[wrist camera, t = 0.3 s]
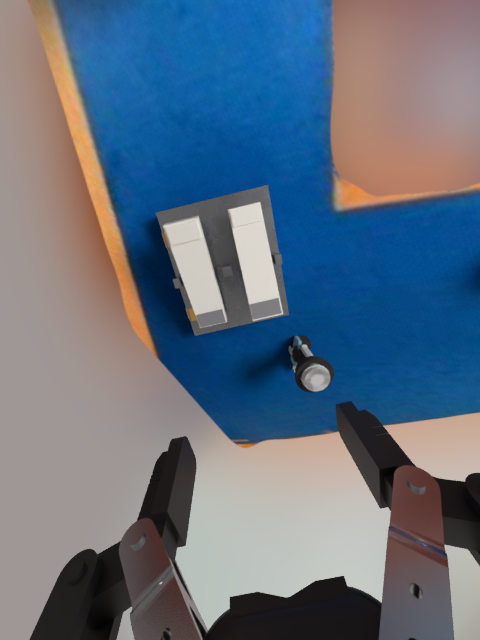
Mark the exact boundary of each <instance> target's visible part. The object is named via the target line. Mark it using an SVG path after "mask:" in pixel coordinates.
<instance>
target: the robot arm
mask: <svg viewBox="0 0 480 640" xmlns="http://www.w3.org/2000/svg"><path fill="white" fill-rule="evenodd" d="M336 415H337V424H338V430H339V433H340V436H341V438H342V440H343V441H344V443H345V445H346V447H347V449H348V451H349V453H350V454H351V456H352V458H353V460H354V461H355V463H356V465H357V467H358V469H359V470H360V472H361V474H362V476H363V478H364V479H365V481H366V483H367V485H368V487H369V489H370V491H371V492H372V494H373V496H374V498H375V500H376V502H377V503H378V505H379V507H380V508H385V507H389V509H390V511H391V517H390V526H389V530H388V541H387V551H386V562H385V574H384V586H383V596H382V603H381V602H379V601H378V600H377V599H375V598H373V597H372V596H371V595H369V594H367V593H365V592H363V591H361V590H358V589H356V588H353V587H348V586H347V585H346V581H345V578H344V576H341V577H335V578H330V579H324V580H319V581H315V582H313V583H312V584H310V585H308V586H307V587H305V588H304V589H302V590H300V591H299V592H297V593H296V594H294V595H292V596H291V597H288V598H285V597H280V596H275V595H270V594H265V593H260V592H255V593H249V594H244V595H239V596H233V597H230V609H229V610H227V611H226V612H225V613H223V614H222V615H221V616H220V617H219V618H218V619H217V620H216V621H215V622H214V624H213V625H212V626H211V628H210V629H209V630H207V628H206V626H205V623H204V621H203V619H202V617H201V615H200V613H199V612H198V609H197V607H196V605H195V603H194V601H193V599H192V596H191V594H190V592H189V590H188V587H187V585H186V583H185V580H184V578H183V576H182V574H181V571H180V569H179V567H178V565H177V562H176V560H175V556H176V550H177V547H182V546H185V545H186V539H187V531H188V524H189V517H190V510H191V503H192V496H193V488H194V481H195V474H196V458H195V455H194V453H193V450H192V448H191V445H190V443H189V440H188V438H187V437H186V436H185V437H180V438H175V439H172V440H171V442H170V445H169V448H168V451H166V452H163V453H162V454H161V456H160V457H159V459H158V460H157V461H156V464H155V467H154V470H153V475H152V476H151V479H150V484H149V485H148V488H147V492H146V495H145V498H144V501H143V504H142V507H141V511H140V513H139V517H138V519H137V521H136V522H135V523H134V524H132V526H130V527H129V529H128V530H127V531H126V533H125V534H124V536H123V538H122V540H121V541H120V542H118V543H117V544H115V545H113V546H111V547H110V548H108V549H106V550H105V551H103V552H101V553H99V554H98V555H97V553H96V552H95V551H94V550H92V549H86V550H84V551H81V552H80V553H78V554H77V555H75V556H74V557H73V558H72V559H71V560H70V561H69V562H68V563H67V564H66V566H65V567H64V568H63V570H62V572H61V573H60V575H59V577H58V579H57V581H56V583H55V586H54V588H53V590H52V592H51V594H50V596H49V599H48V601H47V603H46V605H45V607H44V610H43V612H42V614H41V616H40V618H39V620H38V623H37V625H36V627H35V629H34V631H33V633H32V636H31V638H30V640H116V639H117V635H118V631H119V627H120V622H121V618H122V614H123V612H124V611H125V610H127V609H128V608H130V607H132V612H131V613H130V620H131V625H132V630H133V634H134V639H135V640H454V631H453V618H452V606H451V593H450V580H449V568H448V559H447V554H446V553H445V548H444V544H446V545H451V546H455V547H460V548H465V549H468V550H469V551H470V553H471V554H472V555H473V557H474V558H475V560H476V561H477V563H478V564H479V565H480V473H473V474H470V475H468V477H467V478H466V481H465V482H461V481H453V480H445V479H439V478H435V477H433V476H431V475H430V474H429V473H427V472H426V471H424V470H422V469H420V468H418V467H416V466H415V465H414V464H413V463H412V462H411V461H410V459H409V458H408V457H407V455H406V454H405V453H404V452H403V450H402V449H401V448H400V447H399V445H398V444H397V443H396V442H395V440H394V439H393V438H392V437H391V435H390V434H388V432H387V430H386V429H385V428H384V427H383V426H382V424H381V423H380V422H379V420H378V419H377V418H376V417H375V416H374V415H372V414H371V413H369V412H368V411H366V410H361V411H358V410H357V408H356V407H355V406H354V404H353V403H352V402H351V401H350V402H345V403H340V404H336Z"/></svg>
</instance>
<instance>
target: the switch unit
mask: <svg viewBox="0 0 480 640" xmlns="http://www.w3.org/2000/svg"><path fill="white" fill-rule="evenodd" d="M258 202H260V204H261V209H262V214H263V218H264V223H265V228H266V233H267V238H268V243H269V247H270V252H271V257H272V262H273V267H274V272H275V276H276V281H277V286H278V291H279V296H280V301H281V305H282V310H283V314H282V315H278V316H274V317H269V318H265V319H260V320H256V321H253V320H252V316H251V311H250V307H249V303H248V298H247V294H246V289H245V285H244V280H243V276H242V271H241V267H240V263H239V258H238V254H237V249H236V245H235V240H234V236H233V231H232V227H231V223H230V218H229V214H228V210H229V209H233V208H237V207H241V206H245V205H249V204H254V203H258ZM156 215H157V218H158V221H159V225H160V228H161V231H162V236H163V239H164V243H165V246H166V248H167V250H168V253H169V256H170V259H171V262H172V265H173V269H174V272H175V275H176V278H174V279H173V282H174V285H175V289H177V288H180V291H181V294H182V297H183V300H184V303H185V306H186V312H187V315H188V318H189V321H190V322H191V325H192V329H193V332H194V335H195V336H196V335H201V334H205V333H210V332H214V331H218V330H223V329H227V328H232V327H236V326H240V325H245V324H249V323H254V322H258V321H263V320H267V319H271V318H276V317H280V316H285V315H289V312H288V305H287V299H286V293H285V287H284V281H283V275H282V269H281V264H282V257H281V254H279V250H278V244H277V238H276V232H275V226H274V220H273V214H272V208H271V202H270V195H269V189H268V185H266V186H262V187H258V188H254V189H250V190H246V191H242V192H238V193H234V194H230V195H226V196H222V197H218V198H213V199H209V200H205V201H201V202H197V203H193V204H189V205H185V206H181V207H177V208H173V209H169V210H165V211H161V212H157V213H156ZM195 216H199V219H200V223H201V226H202V230H203V233H204V237H205V240H206V244H207V247H208V251H209V254H210V258H211V262H212V265H213V269H214V272H215V276H216V279H217V283H218V286H219V290H220V293H221V297H222V301H223V304H224V308H225V311H226V315H227V322H225V323H221V324H216V325H212V326H207V327H203V328H200V327H199V324H198V321H197V318H196V316H195V313H194V310H193V308H192V305H191V302H190V299H189V297H188V294H187V291H186V288H185V286H184V283H183V280H182V277H181V275H180V272H179V269H178V266H177V264H176V261H175V258H174V255H173V253H172V250H171V247H170V245H169V242H168V239H167V236H166V234H165V231H164V228H163V225H164V224H166V223H170V222H174V221H178V220H183V219H187V218H191V217H195Z"/></svg>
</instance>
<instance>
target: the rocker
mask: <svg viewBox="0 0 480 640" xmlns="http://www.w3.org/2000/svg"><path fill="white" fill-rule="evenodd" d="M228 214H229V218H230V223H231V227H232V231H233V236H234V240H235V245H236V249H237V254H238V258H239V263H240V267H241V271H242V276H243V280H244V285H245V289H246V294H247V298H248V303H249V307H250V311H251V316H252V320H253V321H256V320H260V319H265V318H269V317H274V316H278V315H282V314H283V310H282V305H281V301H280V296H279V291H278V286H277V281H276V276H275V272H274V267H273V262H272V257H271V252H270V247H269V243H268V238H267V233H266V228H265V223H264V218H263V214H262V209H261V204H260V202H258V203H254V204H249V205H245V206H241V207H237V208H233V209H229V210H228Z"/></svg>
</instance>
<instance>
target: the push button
mask: <svg viewBox="0 0 480 640" xmlns="http://www.w3.org/2000/svg"><path fill="white" fill-rule="evenodd" d="M310 346H311V341H310V340H309V339H308V338H307V336H294V341H293V347H292V349H291V346H289V353H290V354H291V361H292V363H293V369H294V372H295V380H296V383H297V385H298V386H299V387H300V388H301V389H302V390H304V391H306V392H319V391H321V390H323V389H325V388H326V387H328V386H329V385H330V383H331V382H332V380H333V377H334V371H333V368H332V366H331V365H330V363H329V362H327V361H326V360H324V359H323V358H320V357H316V356H313V354H312V352H311V351H310ZM322 364H323V365H325V367H324V366H323V365H322ZM294 367H295V368H294ZM300 377H301V380H300Z"/></svg>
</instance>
